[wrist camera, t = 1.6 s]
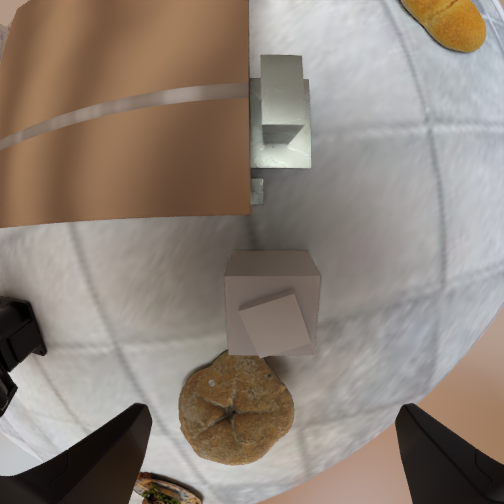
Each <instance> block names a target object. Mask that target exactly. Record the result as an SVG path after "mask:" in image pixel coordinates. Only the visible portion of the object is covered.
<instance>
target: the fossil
mask: <svg viewBox="0 0 504 504" xmlns="http://www.w3.org/2000/svg"><path fill="white" fill-rule="evenodd" d="M293 419H294V403H293V399H292V396H291V394H290V393H289V391H288V389H287V388H286V386H285V385H284V383H282V382H281V381H280V379H279V378H278V377H277V376H276V374H275V373H274V371H273V370H272V369H271V368H270V366H269V365H268V364H267V362H266V361H265V359H264V358H259V356H251V355H229V354H228V351H226V352H225V353H223V354H221V355H220V356H219V357H218V358H217V359H216V360H214V362H213V364H212V365H211V366H209V367H207V368H205V369H201V370H199V371H197V372H195V373H194V374H193V375H192V376H191V377H190V378H189V379H188V381H187V382H186V384H185V385H184V387H183V388H182V391H181V393H180V397H179V420H180V423H181V427H180V428H181V431H182V433H183V435H184V436H185V438H186V440H187V441H188V442H189V443H190V445H191V446H192V448H193V450H194V452H196V453H197V455H198V456H199V457H202V458H204V459H207V460H211V461H215V462H218V463H222V464H226V465H244V464H249V463H252V462H255V461H257V460H258V459H260V458H262V457H263V456H264V455H265V454H266V453H267V452H268V450H269V449H270V448H271V447H272V446H273V445H274V444H275V442H277V441H278V440H279V439H280V438H281V437H283V436H285V435H286V434H287V433H288V431H289V429H290V428H291V427H292V423H293Z"/></svg>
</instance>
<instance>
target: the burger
mask: <svg viewBox="0 0 504 504" xmlns="http://www.w3.org/2000/svg"><path fill="white" fill-rule="evenodd" d="M151 476H152V473H148V472H144V473H142V472H140V474H139V475H138V478H137V480H136V483H135V486H134V489H133V490H134V491H135V492H136V493H138V494H139V495H141V496H142V497H144V498H145V499H144V500H143V502H142V504H202V501H201V500H200V499H199V498H197V497H196V496H195V495H194V494H193V493H191V492H190V491H187V490H186V489H184V488H182V487H179V486H177V485H174V484H172V483H169V482H165V481H162V480H158V479H151Z"/></svg>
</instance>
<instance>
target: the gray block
mask: <svg viewBox="0 0 504 504" xmlns="http://www.w3.org/2000/svg"><path fill="white" fill-rule="evenodd" d="M224 286H225V305H226V322H227V338H228V354H229V355H251V356H259V358H263V357H267V356H285V355H314V347H315V339H316V330H317V320H318V310H319V299H320V286H321V274H320V272H319V270H318V269H317V267H316V265H315V263H314V261H313V259H312V257H311V256H310V254H309V252H308V250H234V251H233V254H232V257H231V259H230V262H229V264H228V267H227V269H226V272H225V275H224Z"/></svg>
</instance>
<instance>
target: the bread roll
mask: <svg viewBox="0 0 504 504" xmlns="http://www.w3.org/2000/svg"><path fill="white" fill-rule="evenodd" d="M401 2H402V4H403V6H404V7H405V8H406V9H407V10H408V11H409V13H410V14H411V15H412V16H413V17H414V18H415V19H417V20H418V22H419V23H421V24H422V25H423V26H424V27H425V29H426V30H427V32H428V33H429V34H430V35H431V36H432V37H433V38H434V39H435V40H436V41H437V42H439V43H440V44H441V45H443V46H445V47H447V48H450V49H453V50H457V51H461V52H474V51H476V50H477V49H479V48H480V47H481V45H482V44H483V43H484V41H485V37H486V27H485V23H484V21H483V18H482V16H481V15H480V13H479V11H478V10H477V8H476V6H475V5H474V4H473V3H472V2H471V1H470V0H401Z"/></svg>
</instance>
